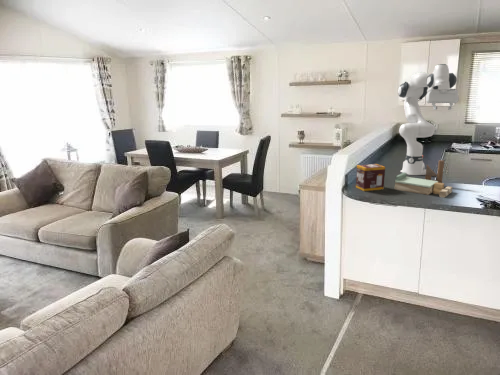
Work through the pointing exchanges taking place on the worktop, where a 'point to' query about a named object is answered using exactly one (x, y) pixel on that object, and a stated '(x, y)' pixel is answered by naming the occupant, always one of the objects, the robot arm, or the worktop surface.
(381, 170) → the supplement box
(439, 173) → the brown wooden bracket
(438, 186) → the brown wood block
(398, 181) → the lid
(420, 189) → the tan piece
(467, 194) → the worktop surface
